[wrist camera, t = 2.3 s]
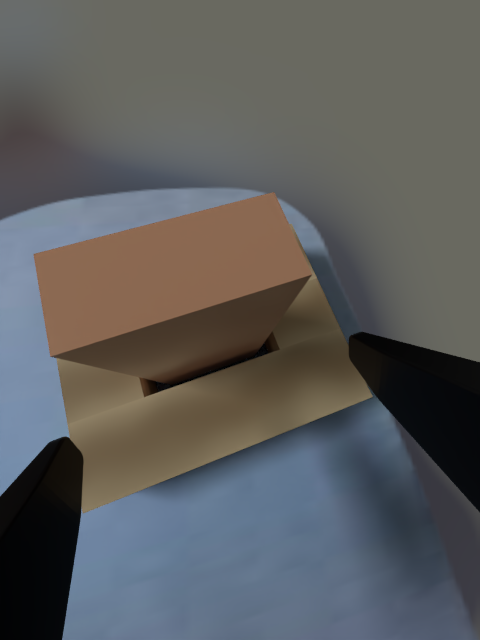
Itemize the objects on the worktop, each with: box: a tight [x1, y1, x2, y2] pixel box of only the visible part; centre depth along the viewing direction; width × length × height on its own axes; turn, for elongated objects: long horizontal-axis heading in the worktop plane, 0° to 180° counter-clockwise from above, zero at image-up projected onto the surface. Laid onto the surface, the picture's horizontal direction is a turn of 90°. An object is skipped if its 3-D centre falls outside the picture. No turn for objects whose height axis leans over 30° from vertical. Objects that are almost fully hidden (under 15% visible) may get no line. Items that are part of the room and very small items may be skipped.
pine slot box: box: [56, 224, 372, 513], centre depth 17 cm, size 12×16×4 cm
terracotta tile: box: [34, 192, 312, 385], centre depth 12 cm, size 2×6×13 cm, turn 110°
